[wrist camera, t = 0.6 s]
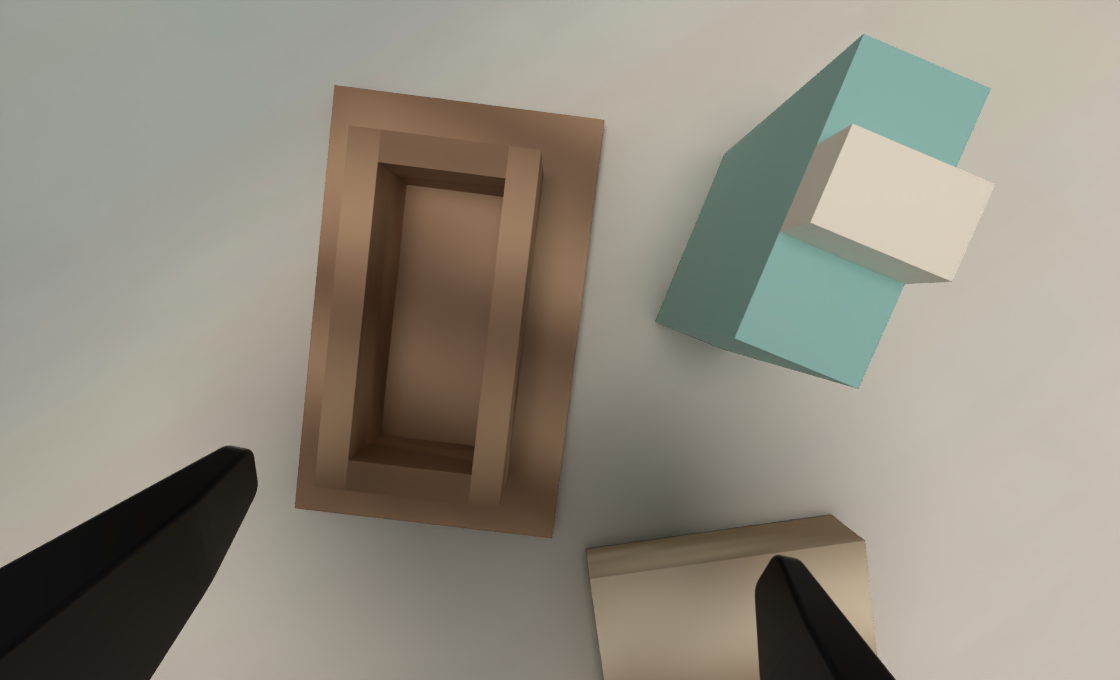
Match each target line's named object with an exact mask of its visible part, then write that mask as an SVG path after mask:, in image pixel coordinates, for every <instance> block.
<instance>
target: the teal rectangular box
mask: <svg viewBox="0 0 1120 680" xmlns="http://www.w3.org/2000/svg"><path fill="white" fill-rule="evenodd" d="M990 90H991V88H988V87H986V86H984V85H981V84H979V83H977V82H974V81H972V80H970V79H967V78H965V77H963V76H960V75H958V74H956V73H953V72H951V71H949V70H947V69H944V68H942V67H940V66H937V65H935V64H933V63H930V62H928V61H926V60H923V59H921V58H919V57H916V56H914V55H912V54H909V53H907V52H905V51H902V50H900V49H898V48H895V47H893V46H891V45H888V44H886V43H884V42H882V41H879V40H877V39H875V38H872V37H870V36H868V35H865V34H863V35H862V36H861V37H860V38H859V39H857V40H856V41H855V42H854V43H853V44H852V45H850V46H849V47H848V48H847V49H846V50H845V51H843V52H842V53H841V54H840V55H839V56H838V57H836V58H835V59H834V60H833V61H832V62H831V63H830V64H828V65H827V66H826V67H825V68H824V69H823V70H821V71H820V72H819V73H818V74H817V75H816V76H814V77H813V78H812V79H811V80H810V81H809V82H807V83H806V84H805V85H804V86H803V87H802V88H801V89H799V90H798V91H797V92H796V93H795V94H794V95H792V96H791V97H790V98H789V99H788V100H787V101H785V102H784V103H783V104H782V105H781V106H780V107H779V108H777V109H776V110H775V111H774V112H773V113H772V114H770V115H769V116H768V117H767V118H766V119H765V120H763V121H762V122H761V123H760V124H759V125H758V126H756V127H755V128H754V129H753V130H752V131H751V132H750V133H748V134H747V135H746V136H745V137H744V138H743V139H741V140H740V141H739V142H738V143H737V144H736V145H734V146H733V147H732V148H731V149H730V150H729V151H728V152H726V153H725V155H724V157H723V160H722V162H721V164H720V167H719V169H718V172H717V174H716V176H715V179H714V181H713V184H712V186H711V188H710V191H709V193H708V196H707V198H706V200H705V203H704V205H703V208H702V210H701V213H700V215H699V217H698V220H697V222H696V225H695V227H694V229H693V232H692V234H691V237H690V239H689V241H688V244H687V246H686V249H685V251H684V253H683V256H682V258H681V261H680V263H679V266H678V268H677V270H676V273H675V275H674V278H673V280H672V282H671V285H670V287H669V290H668V292H667V294H666V297H665V299H664V302H663V304H662V306H661V309H660V311H659V314H658V316H657V319H656V321H655V322H657V323H660V324H662V325H665V326H667V327H670V328H672V329H675V330H677V331H680V332H682V333H685V334H687V335H689V336H692V337H694V338H697V339H699V340H702V341H704V342H707V343H709V344H712V345H714V346H716V347H719V348H721V349H724V350H727V351H730V352H734V353H737V354H741V355H744V356H747V357H751V358H754V359H758V360H761V361H765V362H768V363H772V364H775V365H778V366H782V367H785V368H789V369H792V370H796V371H799V372H803V373H806V374H809V375H813V376H816V377H820V378H823V379H827V380H830V381H833V382H837V383H840V384H844V385H847V386H851V387H854V388H858V389H859V386H860V384H861V382H862V380H863V377H864V375H865V373H866V370H867V368H868V366H869V364H870V361H871V359H872V357H873V355H874V352H875V350H876V348H877V346H878V343H879V341H880V339H881V336H882V334H883V332H884V330H885V327H886V325H887V323H888V321H889V318H890V316H891V314H892V312H893V309H894V307H895V305H896V303H897V300H898V298H899V296H900V293H901V291H902V289H903V287H904V284H913V283H934V282H952V280H953V278H954V276H955V274H956V271H957V269H958V267H959V265H960V262H961V260H962V258H963V256H964V254H965V251H966V249H967V247H968V245H969V242H970V240H971V238H972V236H973V233H974V231H975V229H976V227H977V224H978V222H979V220H980V218H981V215H982V213H983V211H984V209H985V207H986V204H987V202H988V200H989V198H990V195H991V193H992V191H993V189H994V186H995V184H994V183H991V182H989V181H987V180H984V179H982V178H980V177H977V176H975V175H973V174H970V173H968V172H966V171H963V170H961V169H959V168H956V167H957V164H958V162H959V160H960V158H961V155H962V153H963V151H964V149H965V146H966V144H967V142H968V139H969V137H970V135H971V133H972V130H973V128H974V126H975V124H976V121H977V119H978V117H979V115H980V112H981V110H982V108H983V105H984V103H985V101H986V99H987V96H988V94H989V92H990Z"/></svg>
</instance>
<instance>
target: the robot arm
mask: <svg viewBox="0 0 1120 680" xmlns="http://www.w3.org/2000/svg"><path fill="white" fill-rule="evenodd" d="M257 486H258V481H257V474H256V467H255V460H254V455H253V453H252V451H251V450H249V449H245V448H240V447H235V446H224V447H222V448H220V449H218V450H216V451H214V452H212V453H210V454H209V455H207V456H205V457H203V458H201V459H199V460H198V461H196V462H194V463H192V464H190V465H188V466H187V467H185V468H183V469H181V470H179V471H177V472H176V473H174V474H172V475H170V476H168V477H166V478H165V479H163V480H161V481H159V482H157V483H155V484H154V485H152V486H150V487H148V488H146V489H144V490H143V491H141V492H139V493H137V494H135V495H133V496H132V497H130V498H128V499H126V500H124V501H122V502H121V503H119V504H117V505H115V506H113V507H111V508H110V509H108V510H106V511H104V512H102V513H100V514H99V515H97V516H95V517H93V518H91V519H89V520H88V521H86V522H84V523H82V524H80V525H78V526H77V527H75V528H73V529H71V530H69V531H67V532H66V533H64V534H62V535H60V536H58V537H56V538H55V539H53V540H51V541H49V542H47V543H45V544H44V545H42V546H40V547H38V548H36V549H34V550H33V551H31V552H29V553H27V554H25V555H23V556H22V557H20V558H18V559H16V560H14V561H12V562H11V563H9V564H7V565H5V566H3V567H1V568H0V680H150V679H151V677H152V676H153V674H154V672H155V671H156V669H157V668H158V666H159V665H160V663H161V661H162V660H163V658H164V657H165V655H166V654H167V652H168V651H169V649H170V647H171V646H172V644H173V643H174V641H175V640H176V638H177V636H178V635H179V633H180V632H181V630H182V629H183V627H184V625H185V624H186V622H187V621H188V619H189V618H190V616H191V614H192V613H193V611H194V610H195V608H196V607H197V605H198V603H199V602H200V600H201V599H202V597H203V596H204V594H205V592H206V591H207V589H208V587H209V586H210V584H211V582H212V581H213V579H214V577H215V575H216V573H217V571H218V569H219V567H220V565H221V563H222V561H223V559H224V557H225V555H226V553H227V551H228V549H229V547H230V545H231V543H232V541H233V539H234V537H235V535H236V533H237V531H238V529H239V527H240V525H241V523H242V521H243V519H244V517H245V515H246V513H247V511H248V509H249V507H250V505H251V503H252V501H253V499H254V497H255V494H256V491H257ZM755 611H756V627H757V644H758V661H759V675H760V680H896V679H895V678H894V677H893V676H892V674H891V673H890V672H889V671H888V669H887V668H886V667H885V665H884V664H883V663H882V662H881V660H880V659H879V658H878V657H877V655H876V654H875V653H874V652H873V650H872V649H871V648H870V647H869V645H868V644H867V643H866V642H865V640H864V639H863V638H862V636H861V635H860V634H859V633H858V631H857V630H856V629H855V628H854V626H853V625H852V624H851V623H850V621H849V620H848V619H847V618H846V616H845V615H844V614H843V613H842V611H841V610H840V609H839V608H838V606H837V605H836V604H835V602H834V601H833V600H832V599H831V597H830V596H829V595H828V594H827V592H826V591H825V590H824V589H823V587H822V586H821V585H820V584H819V582H818V581H817V580H816V579H815V577H814V576H813V575H812V573H811V572H810V571H809V570H808V568H807V567H806V566H805V565H804V563H803V562H802V561H800V560H799V559H797V558H794V557H789V556H784V555H775V556H773V557H772V558H771V560H770V561H769V563H768V565H767V566H766V568H765V570H764V571H763V573H762V574H761V576H760V578H759V579H758V581H757V584H756V587H755Z"/></svg>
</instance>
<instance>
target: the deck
mask: <svg viewBox="0 0 1120 680" xmlns="http://www.w3.org/2000/svg"><path fill="white" fill-rule="evenodd" d="M586 553H587V561H588V569H589V577H590V585H591V592H592V599H593V606H594V613H595V620H596V627H597V634H598V641H599V648H600V656H601V663H602V670H603V677H604V680H760V675H759V661H758V644H757V627H756V611H755V587H756V584H757V581H758V579H759V578H760V576H761V574H762V573H763V571H764V570H765V568H766V566H767V565H768V563H769V561H770V560H771V558H772V557H773V556H775V555H784V556H789V557H794V558H797V559H799V560H800V561H802V562H803V563H804V565H805V566H806V567H807V568H808V570H809V571H810V572H811V573H812V575H813V576H814V577H815V579H816V580H817V581H818V582H819V584H820V585H821V586H822V587H823V589H824V590H825V591H826V592H827V594H828V595H829V596H830V597H831V599H832V600H833V601H834V602H835V604H836V605H837V606H838V608H839V609H840V610H841V611H842V613H843V614H844V615H845V616H846V618H847V619H848V620H849V621H850V623H851V624H852V625H853V626H854V628H855V629H856V630H857V631H858V633H859V634H860V635H861V636H862V638H863V639H864V640H865V642H866V643H867V644H868V645H869V647H870V648H871V649H872V650H873V652H874V653H875V654H876V655H877V651H876V642H875V633H874V623H873V614H872V604H871V595H870V585H869V576H868V567H867V557H866V548H865V540H863V539H862V538H861V537H860V536H858V535H857V534H856V533H854V532H853V531H852V530H850V529H849V528H848V527H847V526H845V525H844V524H843V523H841V522H840V521H839V520H838V519H836V518H835V517H834V516H832V515H826V516H819V517H811V518H804V519H797V520H790V521H783V522H776V523H769V524H761V525H754V526H747V527H740V528H733V529H726V530H719V531H711V532H704V533H697V534H690V535H683V536H676V537H668V538H661V539H654V540H647V541H640V542H633V543H626V544H618V545H611V546H604V547H597V548H590V549H586Z"/></svg>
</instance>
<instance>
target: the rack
mask: <svg viewBox="0 0 1120 680" xmlns="http://www.w3.org/2000/svg"><path fill="white" fill-rule="evenodd" d="M603 128H604V120H601V119H593V118H585V117H577V116H570V115H562V114H554V113H546V112H539V111H531V110H523V109H515V108H508V107H500V106H492V105H484V104H477V103H469V102H461V101H453V100H445V99H438V98H430V97H422V96H414V95H407V94H399V93H391V92H383V91H376V90H368V89H360V88H352V87H345V86H337V85H335V86H334V96H333V107H332V118H331V128H330V139H329V150H328V160H327V171H326V182H325V192H324V203H323V214H322V224H321V235H320V245H319V256H318V267H317V277H316V288H315V299H314V309H313V320H312V331H311V341H310V352H309V362H308V373H307V384H306V394H305V405H304V416H303V426H302V437H301V448H300V458H299V469H298V480H297V490H296V501H295V508H298V509H306V510H315V511H324V512H332V513H341V514H349V515H358V516H367V517H375V518H384V519H392V520H401V521H409V522H418V523H427V524H435V525H444V526H452V527H461V528H470V529H478V530H487V531H495V532H504V533H512V534H521V535H530V536H538V537H547V538H552V535H553V527H554V519H555V511H556V503H557V495H558V487H559V479H560V471H561V463H562V455H563V447H564V439H565V431H566V423H567V415H568V407H569V399H570V391H571V383H572V375H573V367H574V359H575V351H576V343H577V335H578V327H579V319H580V311H581V303H582V295H583V287H584V279H585V271H586V263H587V256H588V248H589V240H590V232H591V224H592V216H593V208H594V200H595V192H596V184H597V176H598V168H599V160H600V152H601V144H602V136H603Z"/></svg>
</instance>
